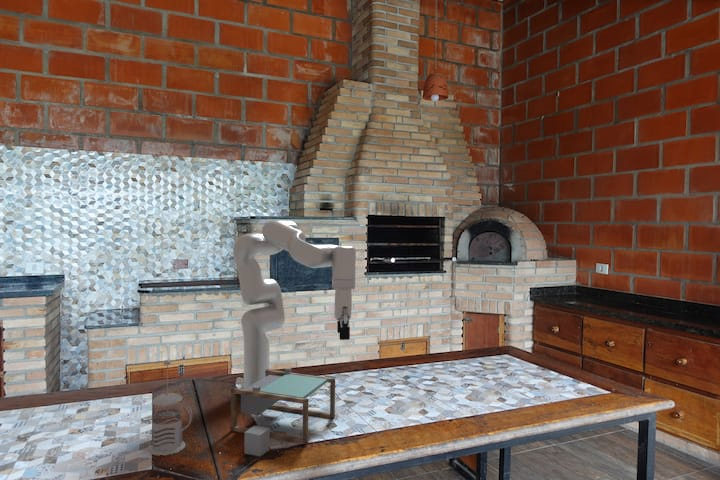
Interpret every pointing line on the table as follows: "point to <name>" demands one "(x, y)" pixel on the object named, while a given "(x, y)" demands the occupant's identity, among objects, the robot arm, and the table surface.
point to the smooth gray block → (257, 440)
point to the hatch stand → (303, 401)
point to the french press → (174, 439)
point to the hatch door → (279, 390)
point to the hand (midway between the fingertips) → (343, 335)
